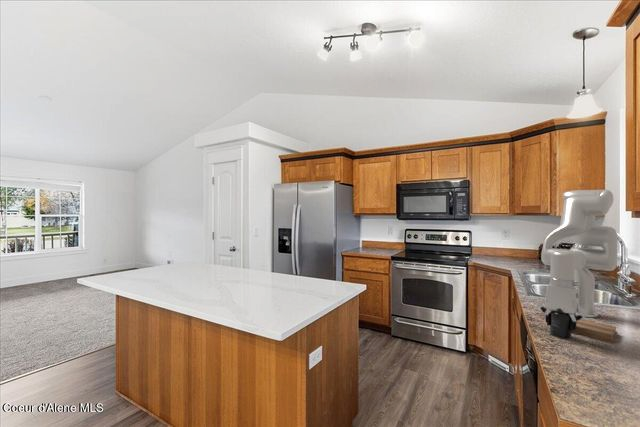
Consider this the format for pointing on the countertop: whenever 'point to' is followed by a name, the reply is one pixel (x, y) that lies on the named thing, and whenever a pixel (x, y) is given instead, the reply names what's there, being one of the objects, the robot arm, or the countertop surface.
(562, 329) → the supplement bottle
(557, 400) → the countertop surface
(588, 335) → the walnut pedestal
